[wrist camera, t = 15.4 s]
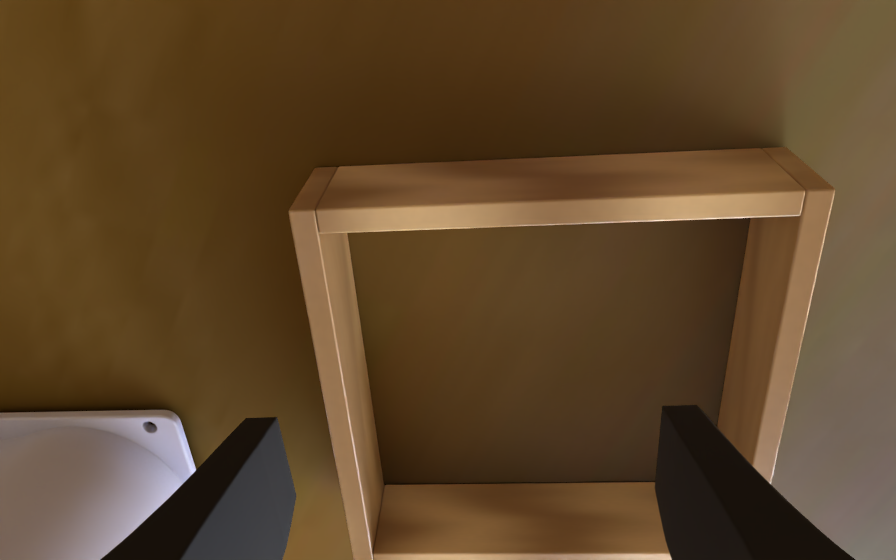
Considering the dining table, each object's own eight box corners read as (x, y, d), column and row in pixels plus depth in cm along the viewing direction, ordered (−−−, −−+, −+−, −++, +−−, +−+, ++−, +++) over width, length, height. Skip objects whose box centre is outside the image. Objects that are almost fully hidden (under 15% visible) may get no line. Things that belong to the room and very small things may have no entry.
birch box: (368, 497, 27) (354, 568, 24) (314, 166, 20) (286, 210, 18) (724, 494, 26) (753, 567, 23) (786, 145, 19) (837, 189, 17)
